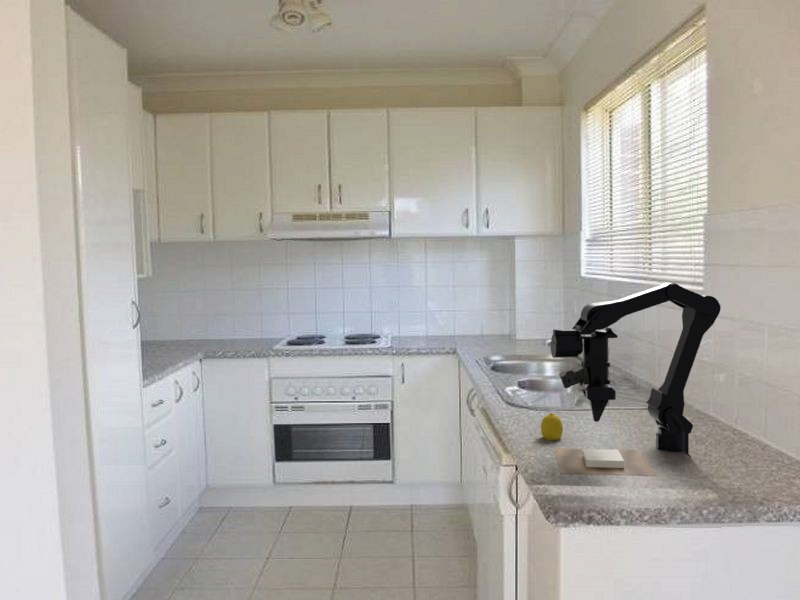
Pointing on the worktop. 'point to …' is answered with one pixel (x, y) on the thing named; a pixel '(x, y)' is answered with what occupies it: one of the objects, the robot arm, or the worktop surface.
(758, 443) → the worktop surface
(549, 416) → the lemon
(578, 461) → the board
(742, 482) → the worktop surface
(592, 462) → the block
